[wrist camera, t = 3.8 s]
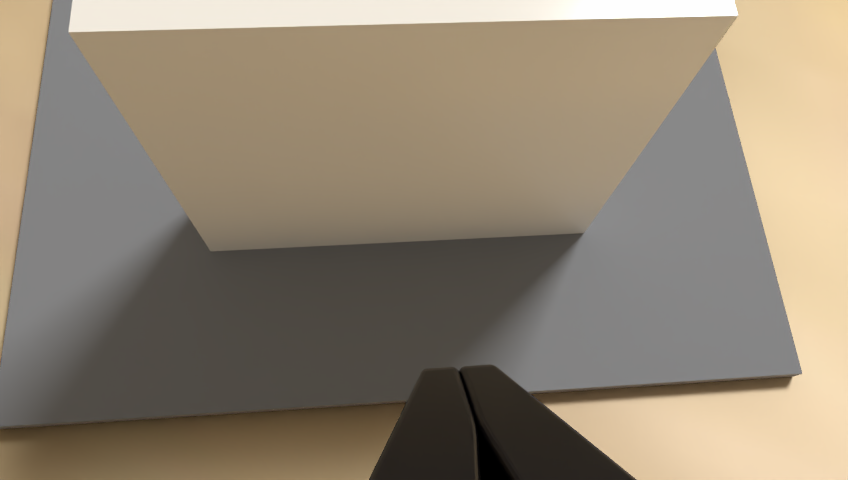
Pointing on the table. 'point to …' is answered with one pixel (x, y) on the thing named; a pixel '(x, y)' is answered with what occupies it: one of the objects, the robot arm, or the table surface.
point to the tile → (394, 109)
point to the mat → (370, 283)
